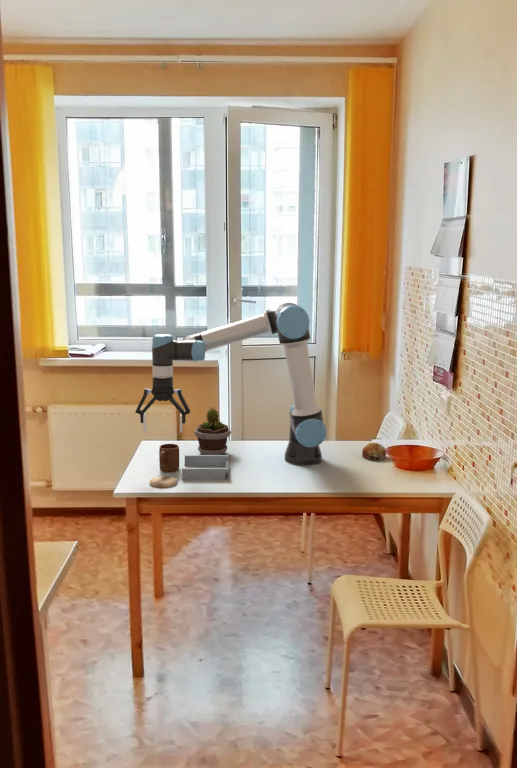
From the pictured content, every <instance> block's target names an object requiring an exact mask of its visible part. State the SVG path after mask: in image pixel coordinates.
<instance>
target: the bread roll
mask: <svg viewBox="0 0 517 768" xmlns="http://www.w3.org/2000/svg"><path fill="white" fill-rule="evenodd" d="M361 451H362V453H361V456H362V458H365V460H367V459H368V461H374V460H375V461H382V460H384V459H385V458H386V457H387V450H386V448H385V446H384V445H382V444H380V443H378V442H369V443H367V444H366V445H365V446H364V447H363V448H362V450H361Z"/></svg>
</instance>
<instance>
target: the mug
mask: <svg viewBox="0 0 517 768" xmlns="http://www.w3.org/2000/svg"><path fill="white" fill-rule="evenodd" d="M158 450H159V451H158V454H159V457H158V458H159V460H158V461H159V470H160V472H163V473H175V472H177V471H179V470H180V446H179V445H178V444H175V443H164V444H161V445H160V446H159V449H158Z"/></svg>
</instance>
